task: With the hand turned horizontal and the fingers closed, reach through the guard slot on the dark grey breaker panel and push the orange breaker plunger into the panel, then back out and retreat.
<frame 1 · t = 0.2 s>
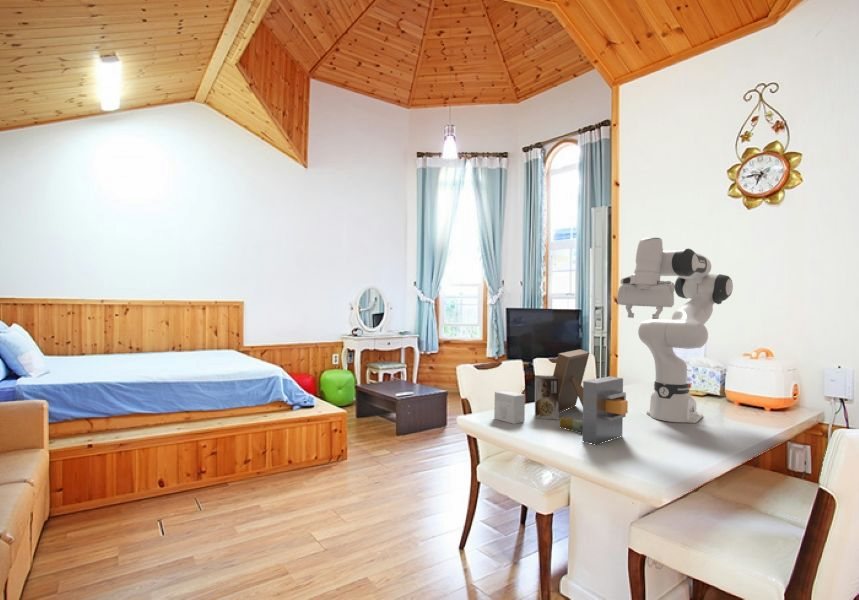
hand: (642, 318, 176), 40 cm above the table, tool pointing down, fingers open, 8 cm apart
breaker plunger: (610, 404, 160), point 12 cm above the table, slide at 0.0 cm
photo frame: (572, 412, 200), on the table
coffee box: (546, 417, 191), on the table
skincare box: (509, 420, 186), on the table
breaker panel: (602, 439, 162), on the table
medication box: (575, 431, 173), on the table
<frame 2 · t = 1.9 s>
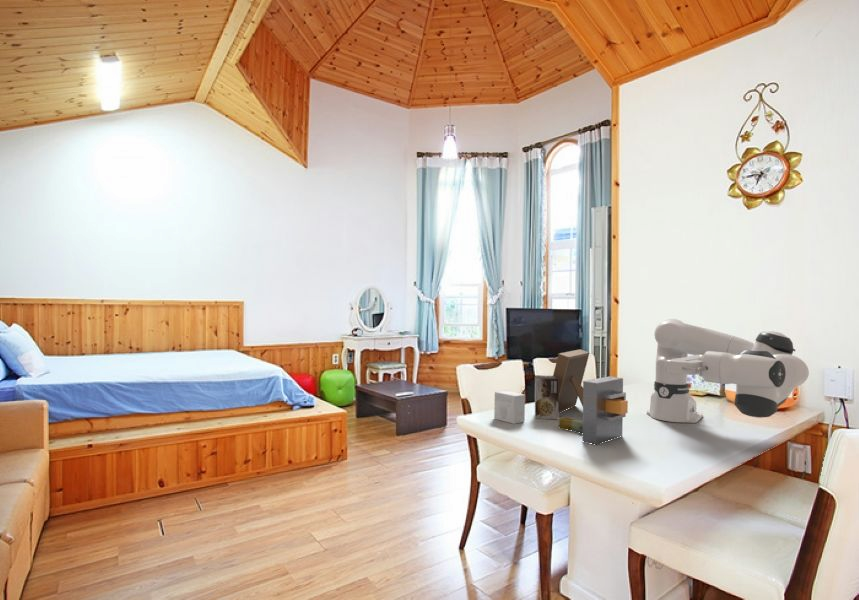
hand: (664, 361, 148), 28 cm above the table, tool horizontal, fingers open, 6 cm apart
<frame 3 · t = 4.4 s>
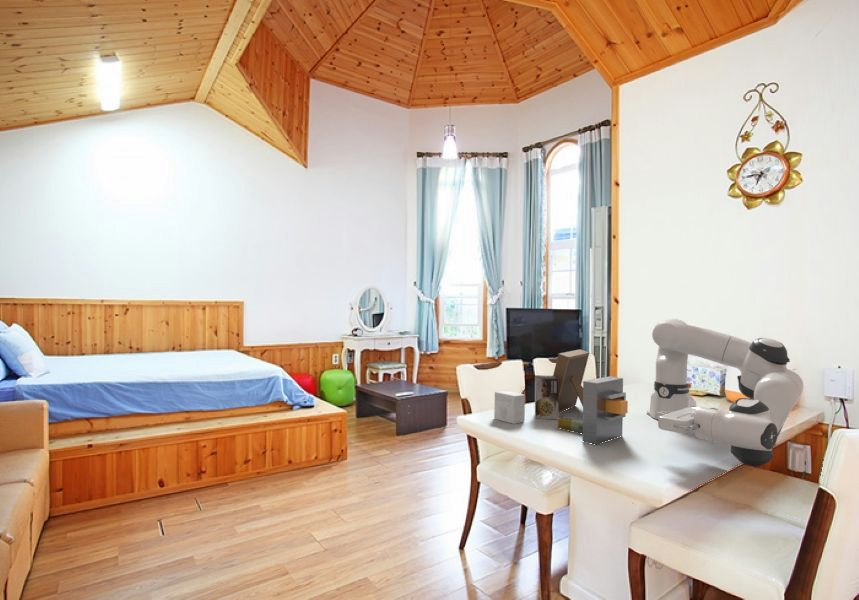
hand: (657, 414, 148), 12 cm above the table, tool horizontal, fingers closed
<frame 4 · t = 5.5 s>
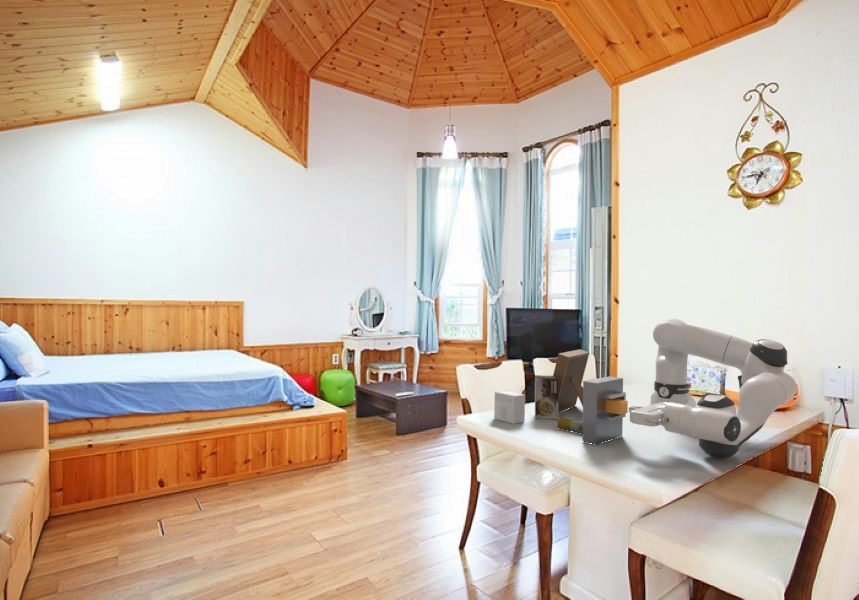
hand: (631, 409, 154), 12 cm above the table, tool horizontal, fingers closed
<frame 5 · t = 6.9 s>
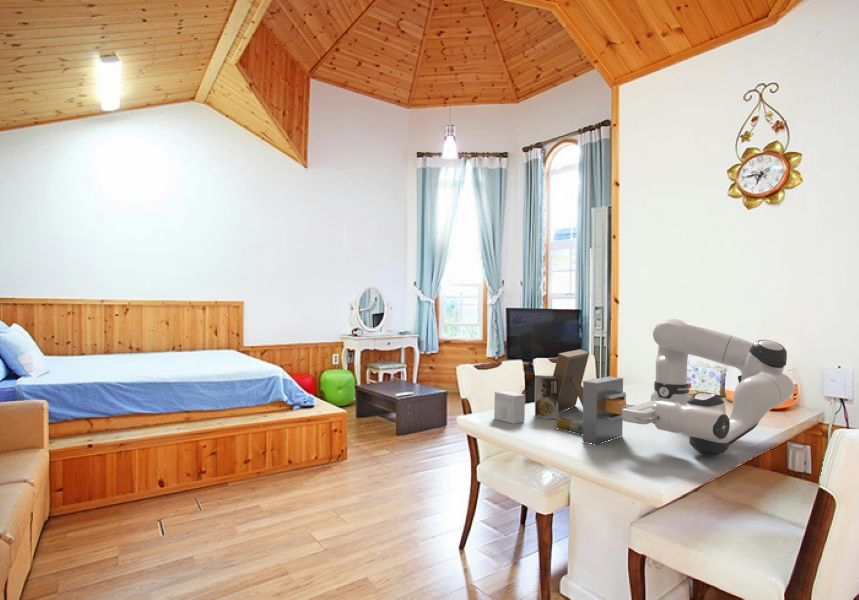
hand: (622, 407, 157), 12 cm above the table, tool horizontal, fingers closed, pressing on breaker plunger
breaker plunger: (609, 404, 160), point 12 cm above the table, slide at 0.5 cm, touching gripper
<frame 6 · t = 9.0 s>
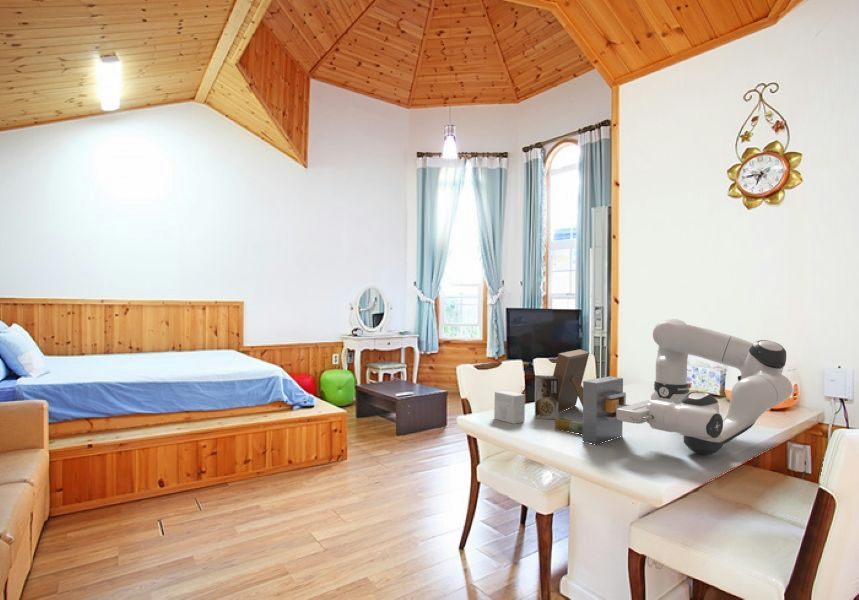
hand: (618, 406, 158), 12 cm above the table, tool horizontal, fingers closed
breaker plunger: (602, 403, 162), point 12 cm above the table, slide at 3.1 cm
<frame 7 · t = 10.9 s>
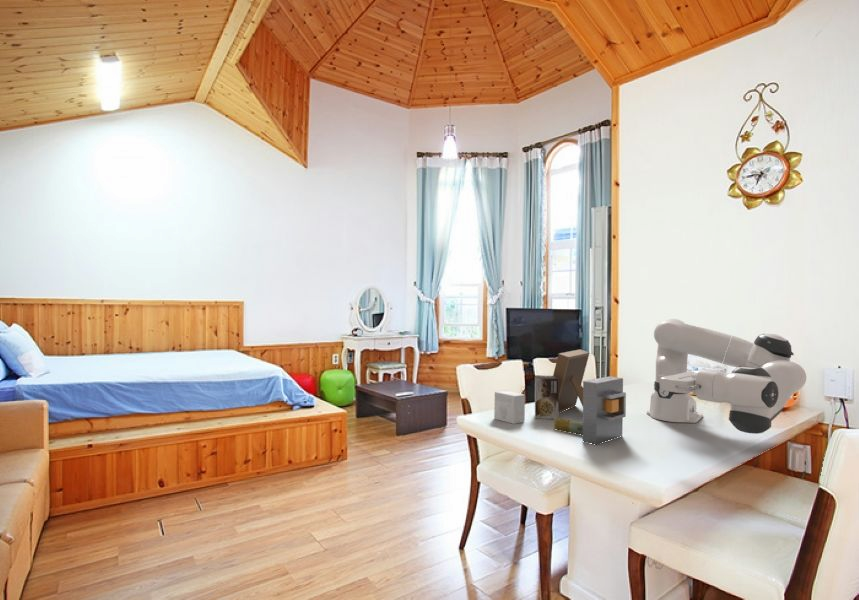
hand: (658, 377, 149), 23 cm above the table, tool horizontal, fingers closed
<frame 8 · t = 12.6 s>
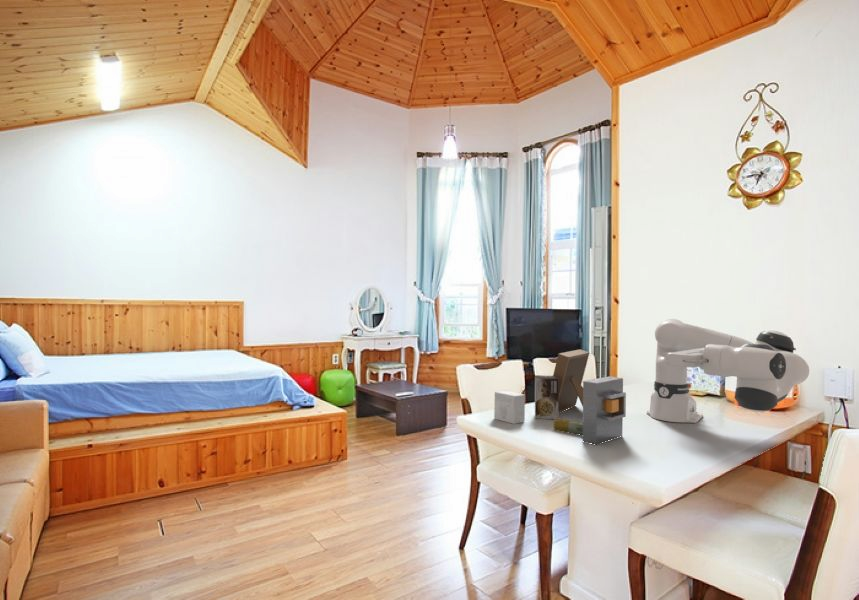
hand: (665, 355, 149), 30 cm above the table, tool horizontal, fingers closed
at the end: breaker plunger slide at 3.1 cm; breaker plunger touching nothing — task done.
